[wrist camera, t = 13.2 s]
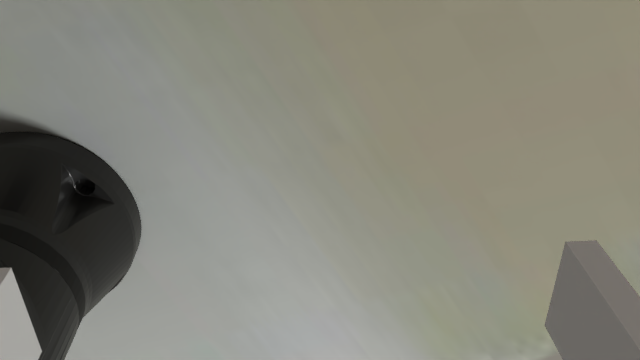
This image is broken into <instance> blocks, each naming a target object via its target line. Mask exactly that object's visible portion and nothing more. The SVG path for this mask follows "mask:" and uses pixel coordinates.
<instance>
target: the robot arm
mask: <svg viewBox="0 0 640 360" xmlns="http://www.w3.org/2000/svg"><path fill="white" fill-rule="evenodd" d="M140 237H141V220H140V214H139V210H138V207H137V204H136V202H135V200H134V197H133V196H132V194H131V192H130V190H129V189H128V187H127V186H126V184H125V183H124V181H123V180H122V179H121V178H120V177H119V175H118V174H117V173H116V172H115V171H114V170H113V169H112V168H111V167H109V166H108V165H107V164H106V163H105V162H104V161H102V160H101V159H100V158H98V157H97V156H95V155H94V154H92V153H91V152H89V151H87V150H86V149H84V148H82V147H80V146H78V145H76V144H73V143H71V142H68V141H66V140H63V139H60V138H57V137H53V136H49V135H45V134H39V133H31V132H8V133H1V134H0V360H64V359H65V357H66V355H67V353H68V350H69V348H70V346H71V343H72V341H73V339H74V337H75V334H76V332H77V329H78V327H79V325H80V323H81V320H82V318H83V317H84V316H85V315H86V314H87V313H88V312H89V311H90V310H91V309H92V308H93V307H94V306H95V305H96V304H97V303H98V302H99V301H100V300H101V299H102V298H103V297H104V296H105V295H106V294H107V293H109V292H110V291H111V290H112V289H114V288H115V287H116V286H117V285H118V284H119V283H120V282H121V280H122V279H123V278H124V276H125V275H126V273H127V272H128V270H129V268H130V266H131V264H132V262H133V259H134V256H135V254H136V251H137V249H138V246H139V242H140ZM545 327H546V329H547V331H548V332H549V334H550V336H551V338H552V340H553V342H554V344H555V346H556V348H557V350H558V351H559V353H560V355H561V357H562V359H563V360H640V297H639V295H638V294H637V293H636V291H635V290H634V289H633V287H632V286H631V285H630V284H629V282H628V281H627V280H626V278H625V277H624V276H623V274H622V273H621V272H620V270H619V269H618V268H617V267H616V265H615V264H614V263H613V261H612V260H611V259H610V257H609V256H608V255H607V253H606V252H605V251H604V250H603V248H602V247H601V246H600V244H599V243H598V242H597V240H594V241H572V242H565V245H564V250H563V254H562V258H561V262H560V266H559V270H558V274H557V278H556V282H555V286H554V290H553V294H552V298H551V302H550V306H549V310H548V314H547V318H546V322H545Z"/></svg>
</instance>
